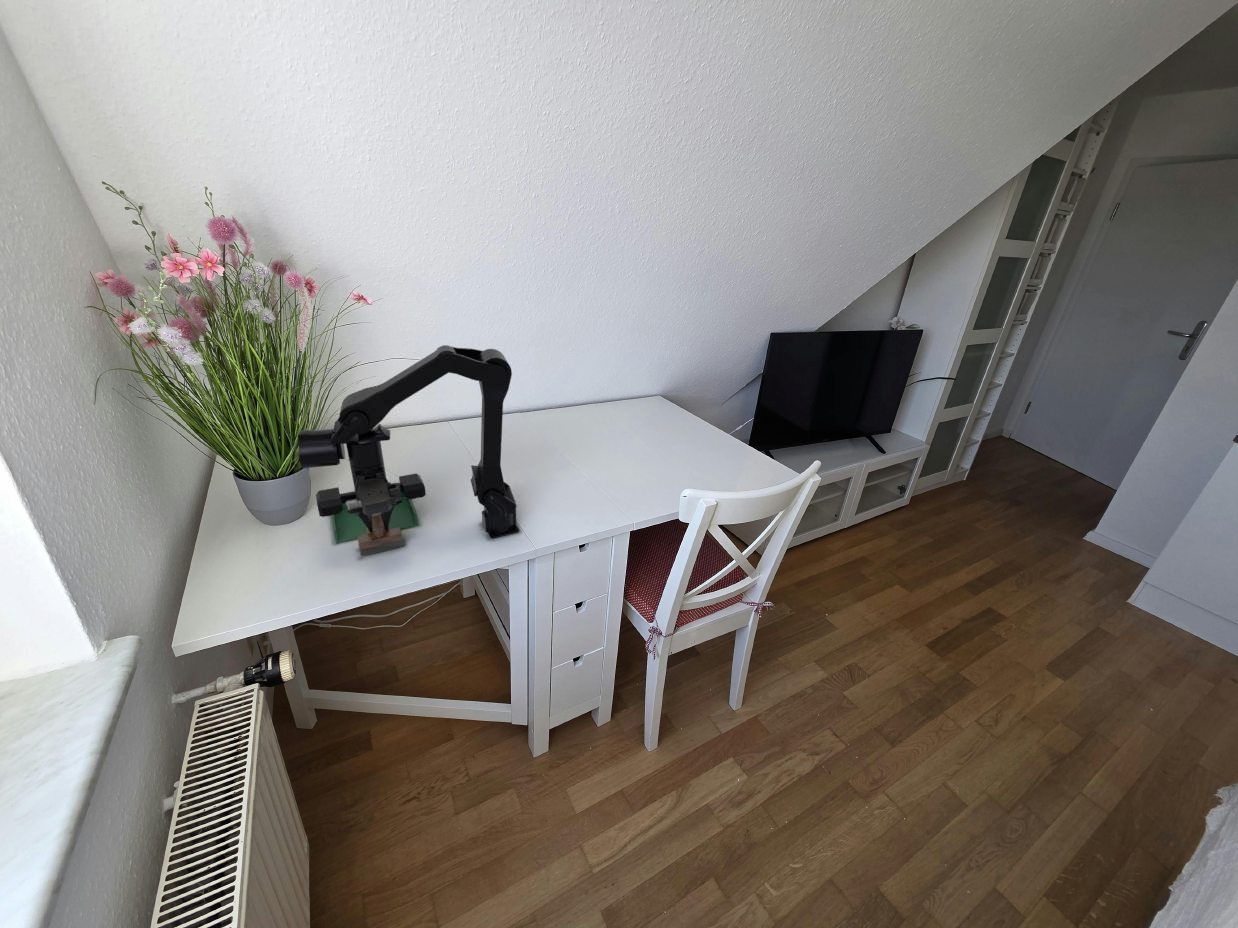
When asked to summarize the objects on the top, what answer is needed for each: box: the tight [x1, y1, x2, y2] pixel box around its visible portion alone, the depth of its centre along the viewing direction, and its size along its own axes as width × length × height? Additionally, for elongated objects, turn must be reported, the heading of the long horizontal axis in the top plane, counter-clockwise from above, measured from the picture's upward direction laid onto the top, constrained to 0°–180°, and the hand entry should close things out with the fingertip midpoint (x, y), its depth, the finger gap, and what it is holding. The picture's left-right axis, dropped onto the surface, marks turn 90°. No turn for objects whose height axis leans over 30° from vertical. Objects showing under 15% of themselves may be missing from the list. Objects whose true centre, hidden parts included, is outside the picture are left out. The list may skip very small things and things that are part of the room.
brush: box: [357, 512, 405, 557], centre depth 102 cm, size 8×3×8 cm, turn 120°
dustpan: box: [330, 492, 419, 544], centre depth 116 cm, size 22×16×3 cm
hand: (378, 530), depth 103 cm, fingers closed on brush, 2 cm apart
